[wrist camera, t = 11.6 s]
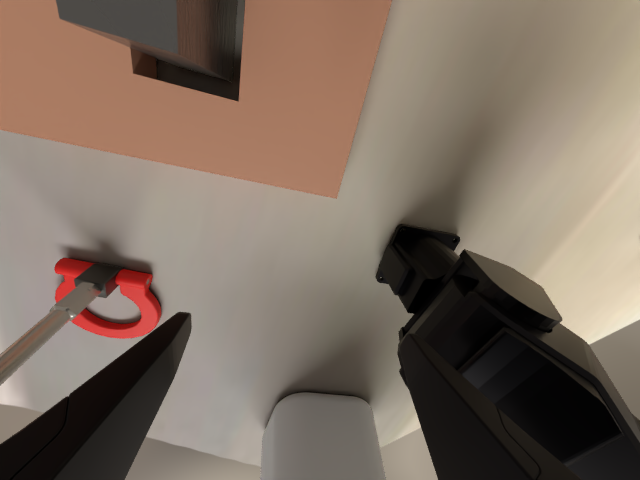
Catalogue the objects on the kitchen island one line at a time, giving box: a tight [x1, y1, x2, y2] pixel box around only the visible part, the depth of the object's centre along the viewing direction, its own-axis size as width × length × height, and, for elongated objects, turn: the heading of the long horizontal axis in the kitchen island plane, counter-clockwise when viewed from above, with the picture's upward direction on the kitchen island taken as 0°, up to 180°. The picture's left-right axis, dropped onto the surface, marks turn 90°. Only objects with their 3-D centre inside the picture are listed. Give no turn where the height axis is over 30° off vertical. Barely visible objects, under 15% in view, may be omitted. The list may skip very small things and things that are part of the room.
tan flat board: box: [0, 0, 392, 199], centre depth 12 cm, size 20×16×2 cm
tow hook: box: [0, 258, 161, 385], centre depth 17 cm, size 8×13×9 cm
